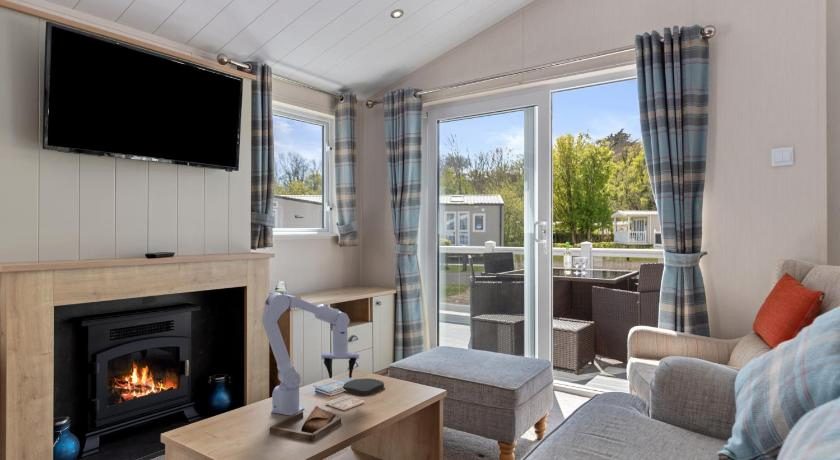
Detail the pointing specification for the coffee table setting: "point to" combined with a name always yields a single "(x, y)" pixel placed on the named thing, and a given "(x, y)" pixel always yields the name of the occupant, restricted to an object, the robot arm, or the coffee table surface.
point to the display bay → (280, 430)
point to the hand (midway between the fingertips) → (340, 377)
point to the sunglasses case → (317, 420)
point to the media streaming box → (363, 386)
